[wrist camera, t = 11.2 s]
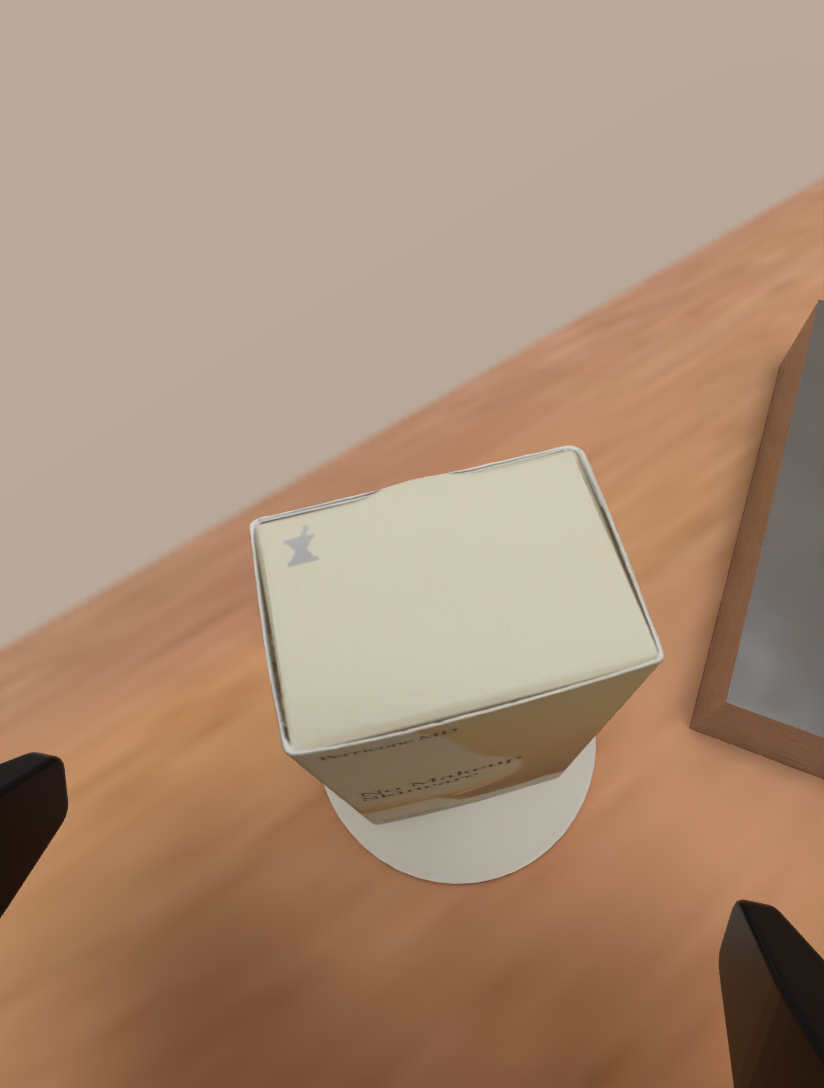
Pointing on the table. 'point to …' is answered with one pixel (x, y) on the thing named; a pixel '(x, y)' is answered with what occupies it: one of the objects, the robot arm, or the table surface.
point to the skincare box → (450, 632)
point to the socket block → (777, 582)
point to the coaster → (478, 829)
